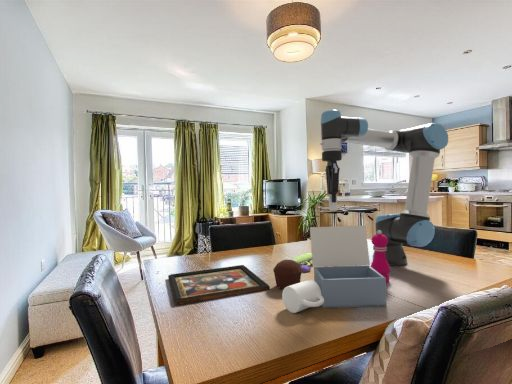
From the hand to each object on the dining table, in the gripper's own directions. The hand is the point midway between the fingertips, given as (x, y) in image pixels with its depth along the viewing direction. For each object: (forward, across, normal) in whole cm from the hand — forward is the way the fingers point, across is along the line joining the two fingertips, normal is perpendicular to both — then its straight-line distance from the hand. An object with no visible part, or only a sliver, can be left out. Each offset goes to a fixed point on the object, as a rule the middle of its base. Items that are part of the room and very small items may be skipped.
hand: (333, 210), depth 115 cm
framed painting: (+29, -1, -48) cm, 56 cm away
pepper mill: (+29, 0, +18) cm, 34 cm away
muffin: (+29, +4, -19) cm, 35 cm away
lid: (+12, +8, 0) cm, 15 cm away
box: (+28, +17, 0) cm, 33 cm away
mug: (+29, +25, -15) cm, 41 cm away
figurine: (+29, -24, -6) cm, 38 cm away
